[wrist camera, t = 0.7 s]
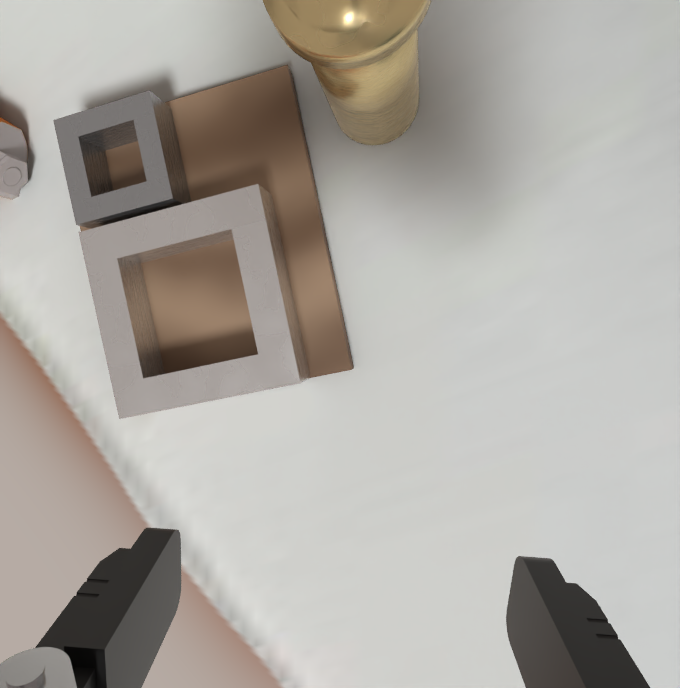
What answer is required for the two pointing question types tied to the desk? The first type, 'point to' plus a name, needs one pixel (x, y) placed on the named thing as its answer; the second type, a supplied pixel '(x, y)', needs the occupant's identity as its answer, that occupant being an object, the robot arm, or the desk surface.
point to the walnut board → (221, 259)
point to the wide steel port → (135, 312)
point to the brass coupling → (359, 59)
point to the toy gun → (12, 160)
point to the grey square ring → (113, 131)
